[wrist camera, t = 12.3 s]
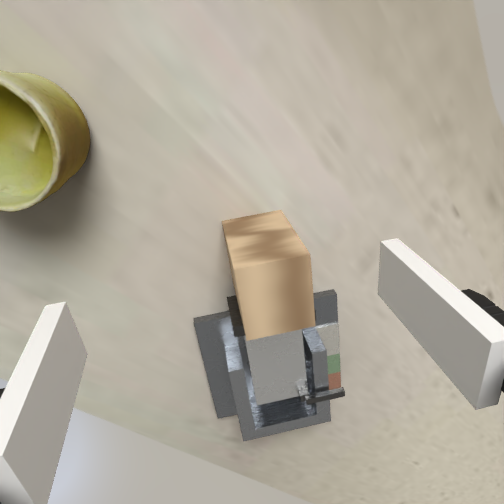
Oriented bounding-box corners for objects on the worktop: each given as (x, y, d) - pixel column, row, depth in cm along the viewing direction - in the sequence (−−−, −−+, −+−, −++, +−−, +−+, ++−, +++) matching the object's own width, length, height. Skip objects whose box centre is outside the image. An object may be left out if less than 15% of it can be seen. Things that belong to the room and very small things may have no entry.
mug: (138, 134, 32) (61, 170, 23) (69, 201, 36) (-17, 251, 28) (23, -3, 29) (-116, -20, 20) (-37, 88, 33) (-171, 107, 25)
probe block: (232, 280, 42) (246, 340, 33) (221, 221, 38) (233, 269, 30) (287, 269, 42) (315, 326, 33) (280, 209, 39) (310, 254, 30)
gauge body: (217, 412, 50) (220, 446, 45) (193, 318, 43) (195, 348, 38) (337, 384, 51) (352, 415, 47) (333, 289, 44) (350, 314, 40)
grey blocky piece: (244, 387, 47) (251, 423, 42) (226, 297, 41) (232, 327, 36) (330, 368, 48) (346, 401, 43) (326, 277, 42) (344, 304, 37)
